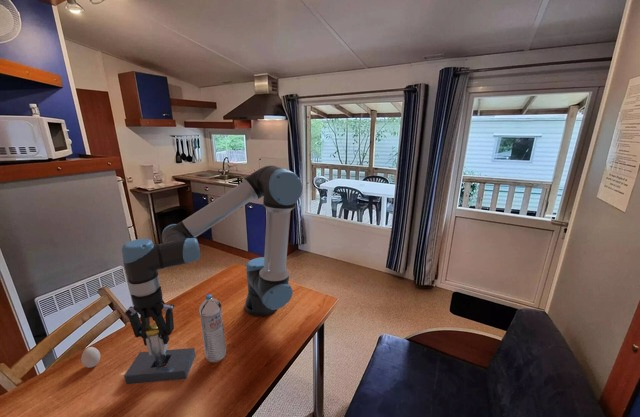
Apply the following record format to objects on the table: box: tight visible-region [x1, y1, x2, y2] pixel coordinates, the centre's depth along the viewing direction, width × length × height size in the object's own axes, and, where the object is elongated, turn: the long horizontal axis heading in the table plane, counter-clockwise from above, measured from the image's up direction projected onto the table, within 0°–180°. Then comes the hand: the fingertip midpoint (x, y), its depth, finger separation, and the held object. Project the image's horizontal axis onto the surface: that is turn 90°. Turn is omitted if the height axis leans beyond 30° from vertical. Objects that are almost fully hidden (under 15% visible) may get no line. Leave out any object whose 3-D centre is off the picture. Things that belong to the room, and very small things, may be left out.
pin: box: [146, 322, 167, 367], centre depth 84 cm, size 5×5×14 cm
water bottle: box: [198, 294, 227, 364], centre depth 89 cm, size 7×7×25 cm
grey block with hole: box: [123, 347, 197, 385], centre depth 86 cm, size 18×9×4 cm, turn 97°
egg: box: [80, 346, 101, 369], centre depth 87 cm, size 5×5×7 cm
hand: (158, 351), depth 84 cm, fingers closed on pin, 3 cm apart
